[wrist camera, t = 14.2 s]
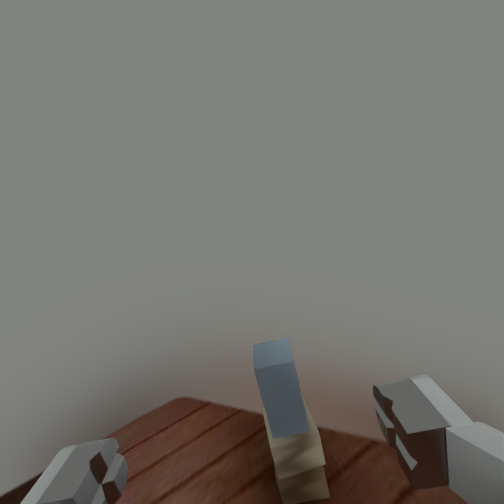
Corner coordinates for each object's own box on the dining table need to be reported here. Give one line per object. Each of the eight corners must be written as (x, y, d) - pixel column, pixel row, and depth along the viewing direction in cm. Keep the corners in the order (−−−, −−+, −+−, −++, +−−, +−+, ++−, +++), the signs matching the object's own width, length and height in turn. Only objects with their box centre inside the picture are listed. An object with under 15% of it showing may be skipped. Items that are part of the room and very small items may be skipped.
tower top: (279, 479, 30) (270, 448, 29) (269, 434, 36) (261, 406, 35) (325, 464, 31) (319, 432, 30) (308, 422, 37) (302, 394, 36)
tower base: (283, 505, 32) (275, 476, 31) (278, 457, 38) (271, 431, 37) (330, 498, 32) (323, 468, 31) (318, 450, 38) (312, 423, 36)
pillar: (272, 438, 30) (254, 369, 28) (270, 407, 35) (253, 345, 32) (309, 431, 30) (293, 361, 28) (302, 401, 35) (288, 337, 32)
